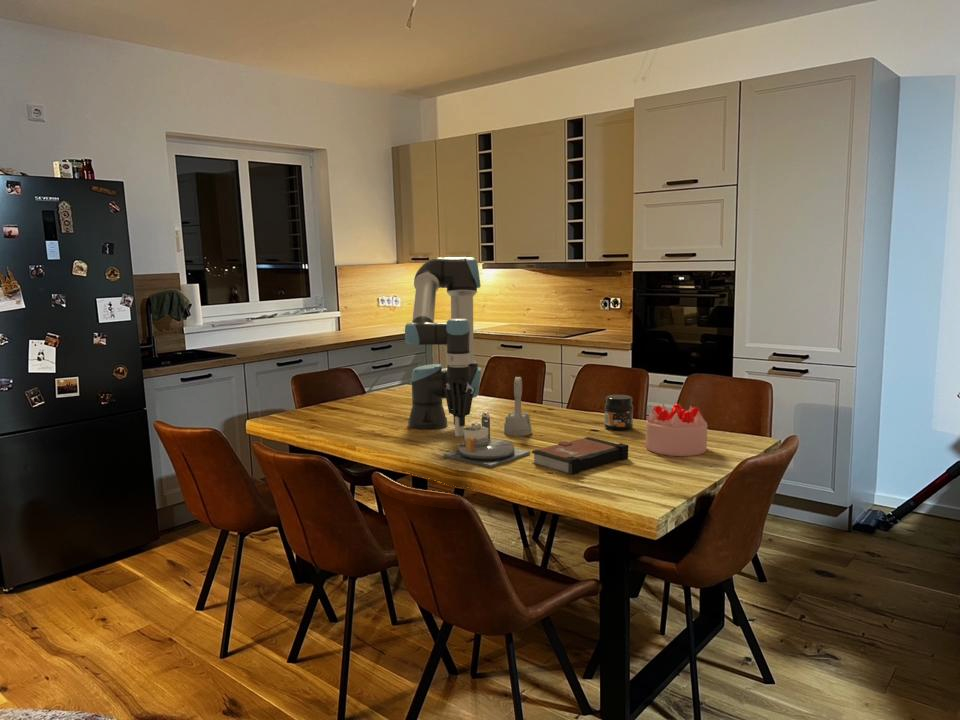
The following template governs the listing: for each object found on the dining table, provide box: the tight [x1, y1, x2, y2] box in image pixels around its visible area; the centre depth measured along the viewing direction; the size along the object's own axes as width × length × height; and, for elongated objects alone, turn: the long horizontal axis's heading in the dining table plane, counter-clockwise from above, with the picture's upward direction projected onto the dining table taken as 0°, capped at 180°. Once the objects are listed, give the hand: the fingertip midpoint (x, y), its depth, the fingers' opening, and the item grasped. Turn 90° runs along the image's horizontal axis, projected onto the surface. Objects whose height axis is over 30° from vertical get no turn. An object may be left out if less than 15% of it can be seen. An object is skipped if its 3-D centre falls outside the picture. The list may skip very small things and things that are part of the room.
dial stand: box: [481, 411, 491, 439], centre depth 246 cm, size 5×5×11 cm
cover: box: [463, 423, 488, 447], centre depth 239 cm, size 8×8×6 cm
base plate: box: [443, 447, 531, 469], centre depth 237 cm, size 20×20×1 cm
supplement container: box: [604, 394, 634, 432], centre depth 272 cm, size 10×10×12 cm
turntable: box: [458, 438, 515, 459], centre depth 236 cm, size 18×18×6 cm
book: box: [531, 436, 629, 476], centre depth 230 cm, size 26×18×5 cm
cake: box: [645, 403, 708, 457], centre depth 242 cm, size 20×20×14 cm
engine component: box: [503, 376, 532, 436], centre depth 267 cm, size 11×20×10 cm
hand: (459, 435), depth 244 cm, fingers closed
